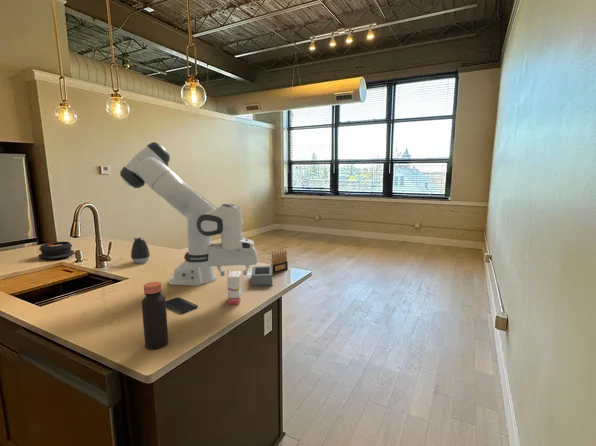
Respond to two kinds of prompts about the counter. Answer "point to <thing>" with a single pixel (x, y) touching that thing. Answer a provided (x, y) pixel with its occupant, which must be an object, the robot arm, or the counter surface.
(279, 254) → the ammunition clip
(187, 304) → the phone
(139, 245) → the dark grey egg shape
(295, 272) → the counter surface
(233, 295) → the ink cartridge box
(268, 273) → the box
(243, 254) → the robot arm
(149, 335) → the bottle
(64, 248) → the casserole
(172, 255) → the counter surface
